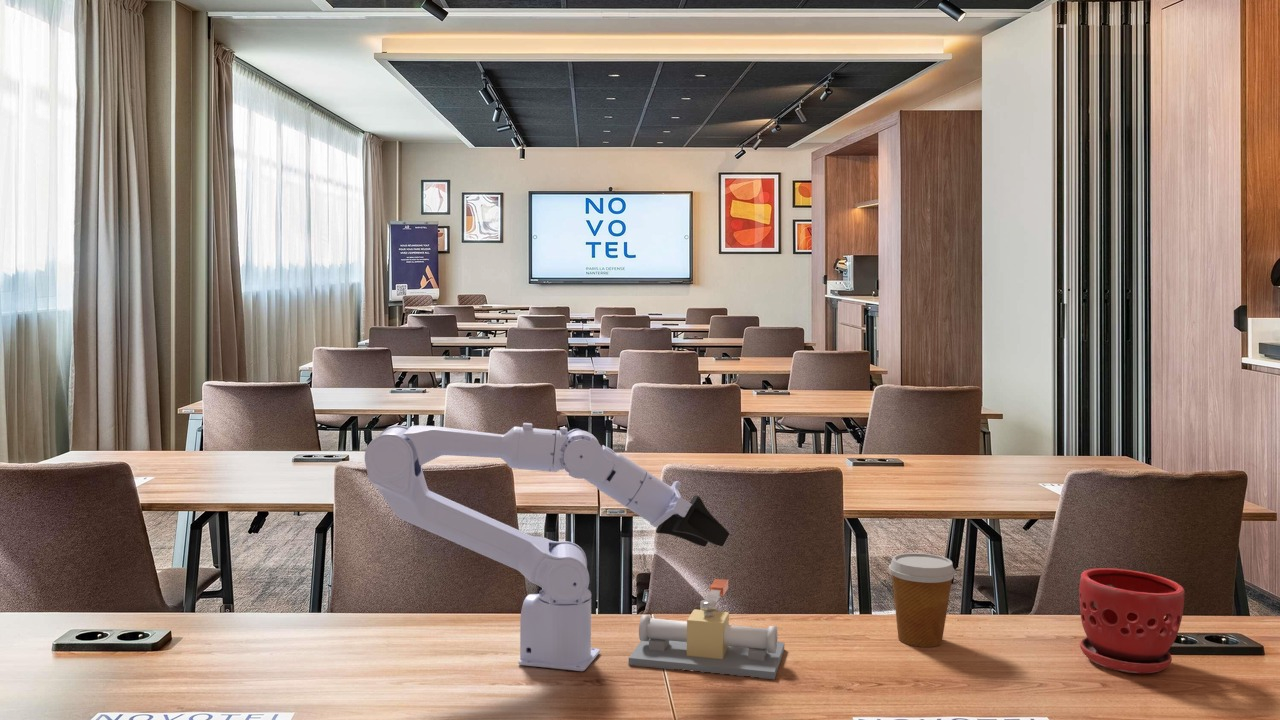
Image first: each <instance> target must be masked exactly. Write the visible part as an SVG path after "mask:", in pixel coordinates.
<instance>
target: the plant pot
mask: <svg viewBox="0 0 1280 720" xmlns="http://www.w3.org/2000/svg"><path fill="white" fill-rule="evenodd" d="M1079 578H1080V580H1079V586H1078V587H1079V591H1078V593H1079V594H1078V597H1079V600H1078V601H1079V609H1080V619H1081V620H1080V621H1081V624H1082V625H1081V626H1082V628H1083V630H1084V631H1083V632H1084V634H1085V635H1086V637H1084V638H1082V639H1081V640H1080V642H1079V647H1080V650H1081V652H1082V654H1083V655H1084V656H1085V657H1086V658H1087V659H1089V660H1090V661H1091V662H1093V664H1095V665H1099V666H1101V667H1104V668H1107V669H1110V670H1115V671H1116V672H1117V671H1118V672H1122V673H1127V674H1128V673H1129V674H1151V673H1158V672H1161V671H1163V670H1165V669H1167V668H1168V667H1169V666H1170V665H1171V663H1172V661H1173V657H1172V654H1171V653H1170V651H1169V650H1170V649H1171V647H1172V646H1173V645H1174V643H1175V641H1176V639H1177V637H1178V633H1179V630H1180V627H1181V625H1182V623H1181V622H1182V620H1183V614H1184V605H1185V595H1186V594H1185V593H1186V592H1185V589H1184V587H1183V586H1182V585H1180V584H1179V583H1177V582H1176V581H1174V580H1172V579H1168V578H1166V577H1164V576H1159V575H1155V574H1152V573H1148V572H1142V571H1136V570H1131V569H1124V568H1123V569H1121V568H1114V567H1113V568H1111V567H1110V568H1109V567H1108V568H1105V567H1104V568H1102V567H1101V568H1090V569H1086V570H1084V571H1082V573H1081V575H1080V577H1079ZM1108 585H1109V586H1108ZM1094 603H1095V604H1096V606H1095V605H1094Z"/></svg>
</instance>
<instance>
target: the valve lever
mask: <svg viewBox="0 0 1280 720" xmlns="http://www.w3.org/2000/svg"><path fill="white" fill-rule="evenodd" d="M728 589H729V579H719V578H714V580H713V581H712V583H711V584H710V586H709V592H708V594H707V596H706V597H705V599H703V600H700V603H699V604H700V605H699V606H700V607H699V608H700V609H699V610H702V611H708V612H710V611H717V602H718V600H719V599H720V597H724V596H725V594H726V593H727V591H728Z"/></svg>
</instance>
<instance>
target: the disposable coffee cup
mask: <svg viewBox="0 0 1280 720" xmlns="http://www.w3.org/2000/svg"><path fill="white" fill-rule="evenodd" d="M953 565H954V564H953V561H952V560H951V559H950V558H948V557H944V556H942V555H941V556H940V555H938V554H937V555H936V554H933V553H932V554H931V553H923V552H921V553H920V552H904V553H897V554H896V555H893V556H892V558H891V562H890V564H889V565H888V569H889V572H890V574H891V578H892V580H891V581H892V589H893V599H894V606H895V607H894V608H895V609H894V611H895V619H896V628H897V636H898V637H897V638H898V640H899V641H900V642H902V643H903V644H906V645H910V646H914V647H918V648H919V647H920V648H931V647H932V648H933V647H936V646H941V644H943V638H944V631H945V625H946V619H947V613H948V607H949V600H950V599H949V598H950V594H951V588H952V587H951V586H952V581H953V579H954V576H955V575H956V569H955V568H954V566H953Z"/></svg>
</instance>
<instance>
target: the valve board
mask: <svg viewBox="0 0 1280 720" xmlns="http://www.w3.org/2000/svg"><path fill="white" fill-rule="evenodd" d="M729 617H730V613H729V611H718V610H715V611H710V612H708V611H702V610H701V609H693V610H692V612H691V614H690V615H689V616H688V617H687V620H685V621H684V620H673V619H662V618H653V617H652V616H651V615H650V614H642V615H641V617H640V620H639V625H638V637H639V641H640V642H639V643H638V645H637V646H636V647H635V648H634V650H633V651H632V653H631V654H630V656H628V666H635V667H644V668H646V667H648V668H653V669H654V668H655V669H656V668H657V669H665V670H674V669H678V670H677V671H680V670H679V669H682V670H681V671H684V670H683V669H685V670H693V671H692V672H694V671H702V672H701V673H704V672H711V673H710V674H714V673H720V674H719V675H724V674H730V675H729V676H734V675H737V676H738V677H744V676H752V677H751V678H754V677H759V678H758V679H764V680H765V679H767V680H774V681H775V679H776V676H777V673H778V669H779V667H780V664H781V661H782V657H783V654H784V652H785V642H781V641H778V636H779V634H778V626H774V625H769V626H768V627H767V628H766V627H765V628H763V627H752V626H742V625H733V624H732V625H730V624H729V623H730V622H729V620H730V619H729ZM737 676H736V677H737Z"/></svg>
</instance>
